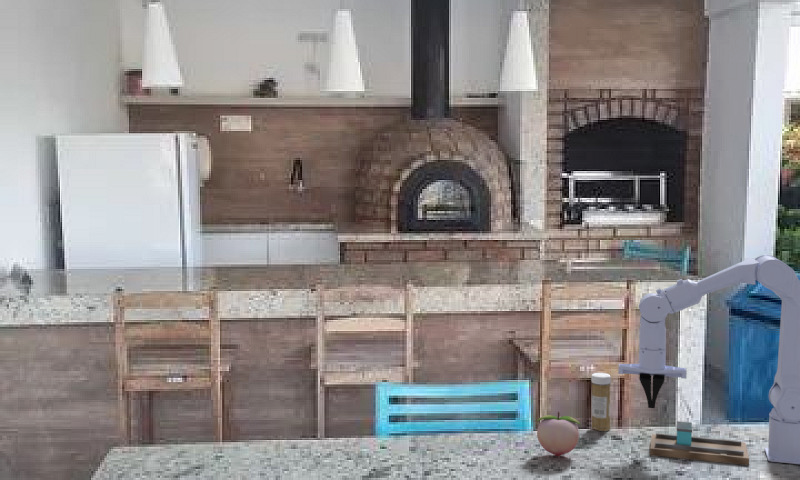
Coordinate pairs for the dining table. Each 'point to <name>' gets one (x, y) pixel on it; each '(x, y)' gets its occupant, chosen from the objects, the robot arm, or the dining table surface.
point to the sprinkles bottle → (601, 401)
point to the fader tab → (684, 433)
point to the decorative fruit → (558, 434)
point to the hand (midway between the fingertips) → (651, 406)
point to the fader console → (700, 449)
